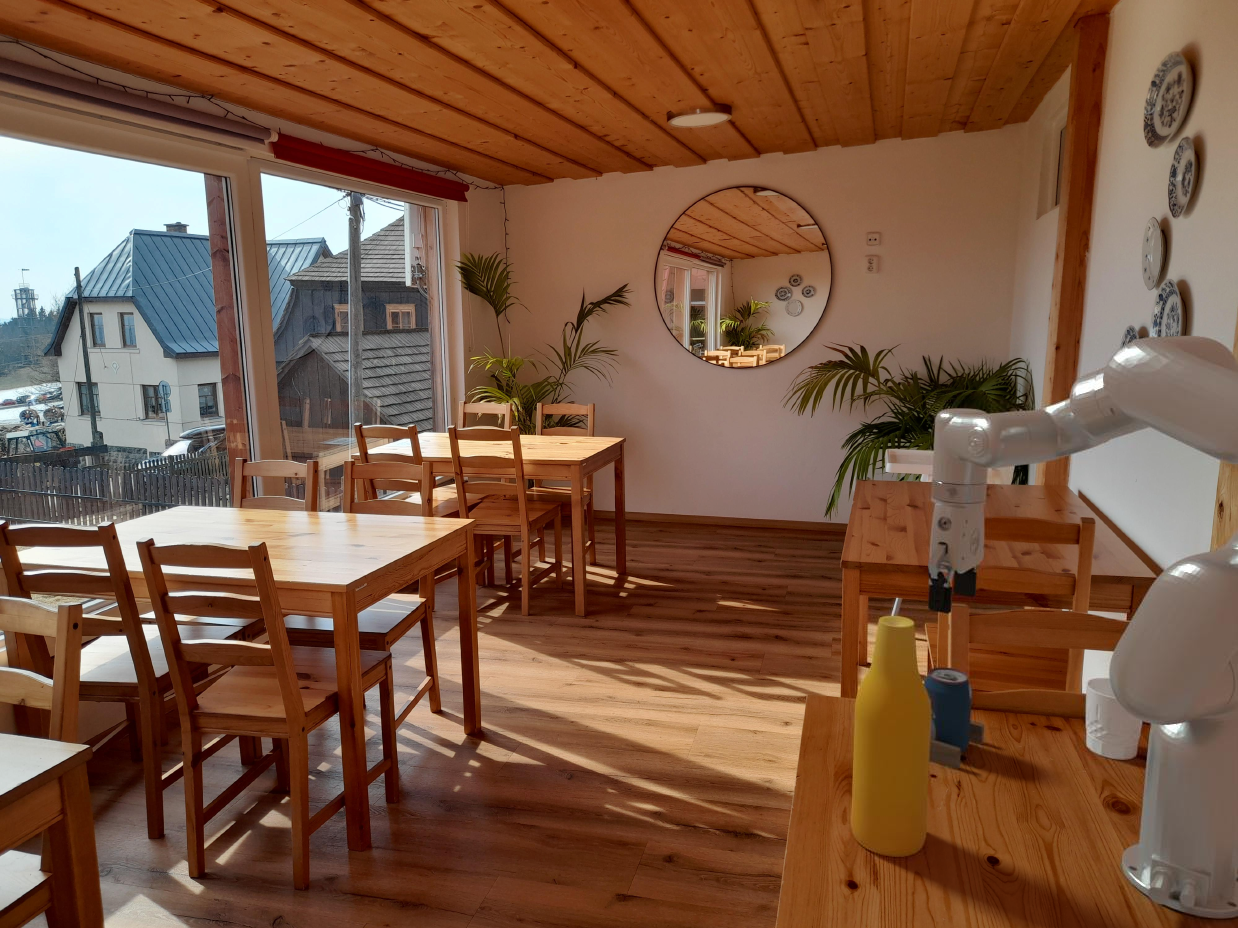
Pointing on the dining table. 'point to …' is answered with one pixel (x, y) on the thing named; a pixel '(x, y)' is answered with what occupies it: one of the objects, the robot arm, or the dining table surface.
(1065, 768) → the dining table surface
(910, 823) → the yellow bottle
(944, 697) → the soda can
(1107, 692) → the white cup
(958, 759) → the gray u-shaped bracket
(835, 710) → the dining table surface
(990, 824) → the dining table surface
